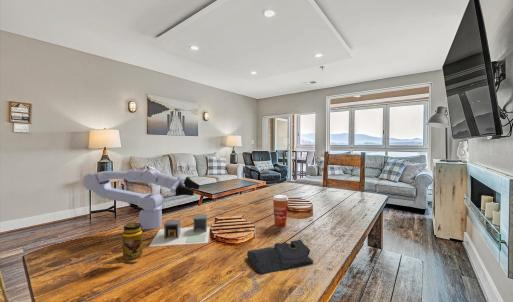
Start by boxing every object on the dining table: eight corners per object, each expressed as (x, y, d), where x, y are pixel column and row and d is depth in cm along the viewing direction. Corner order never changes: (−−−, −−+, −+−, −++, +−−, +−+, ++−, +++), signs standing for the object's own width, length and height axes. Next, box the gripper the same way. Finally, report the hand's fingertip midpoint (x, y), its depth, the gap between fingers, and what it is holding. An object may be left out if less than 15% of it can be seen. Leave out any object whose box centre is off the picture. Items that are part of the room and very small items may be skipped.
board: (148, 249, 88) (148, 246, 88) (160, 231, 106) (160, 228, 106) (208, 245, 92) (208, 242, 92) (209, 228, 110) (209, 226, 110)
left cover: (164, 239, 95) (164, 224, 95) (167, 233, 101) (167, 220, 100) (178, 238, 96) (178, 223, 96) (180, 233, 102) (180, 219, 101)
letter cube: (168, 237, 97) (168, 230, 96) (169, 234, 100) (169, 227, 100) (175, 237, 97) (175, 230, 97) (176, 234, 100) (176, 227, 100)
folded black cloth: (242, 255, 85) (242, 242, 85) (295, 245, 93) (295, 233, 93) (257, 278, 71) (257, 262, 71) (318, 264, 79) (319, 250, 78)
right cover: (193, 232, 102) (193, 218, 102) (194, 227, 108) (194, 214, 108) (206, 231, 103) (206, 218, 103) (207, 227, 109) (207, 214, 108)
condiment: (132, 265, 77) (132, 229, 77) (112, 261, 80) (112, 226, 79) (149, 254, 84) (148, 221, 84) (130, 251, 87) (129, 219, 86)
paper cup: (270, 226, 113) (270, 197, 112) (275, 221, 120) (275, 194, 120) (286, 228, 110) (286, 198, 110) (290, 223, 117) (290, 195, 117)
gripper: (162, 178, 100) (192, 187, 100) (176, 169, 115) (203, 177, 114) (159, 193, 102) (189, 202, 102) (173, 182, 116) (199, 190, 116)
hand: (196, 190), depth 108 cm, fingers open, 7 cm apart
